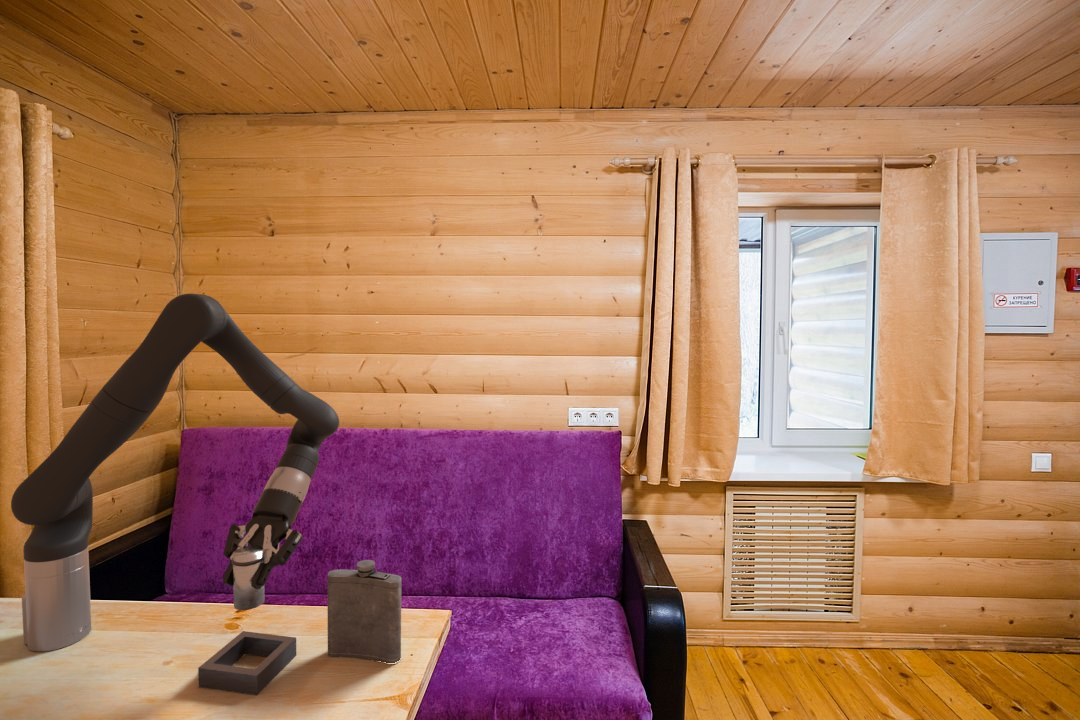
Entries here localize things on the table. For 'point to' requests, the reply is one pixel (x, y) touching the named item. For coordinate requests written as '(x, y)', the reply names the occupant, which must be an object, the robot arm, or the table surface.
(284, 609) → the table surface
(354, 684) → the table surface
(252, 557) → the silver metal cylinder
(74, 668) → the table surface
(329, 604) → the flask
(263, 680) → the square frame
